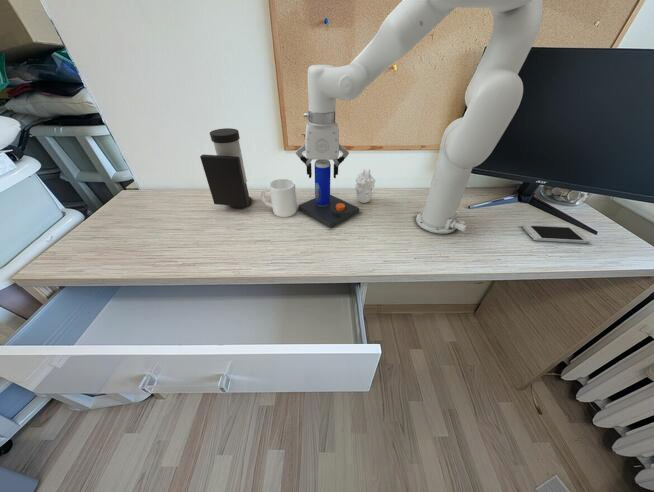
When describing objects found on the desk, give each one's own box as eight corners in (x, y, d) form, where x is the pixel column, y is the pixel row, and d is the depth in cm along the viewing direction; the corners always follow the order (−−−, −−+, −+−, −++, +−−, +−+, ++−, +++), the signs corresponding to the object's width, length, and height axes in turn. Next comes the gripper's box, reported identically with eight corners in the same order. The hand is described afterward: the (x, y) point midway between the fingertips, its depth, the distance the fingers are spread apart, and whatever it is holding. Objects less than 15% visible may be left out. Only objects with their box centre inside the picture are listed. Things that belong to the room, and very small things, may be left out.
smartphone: (521, 227, 83) (523, 224, 82) (572, 229, 82) (573, 227, 81) (534, 240, 77) (535, 238, 77) (588, 243, 76) (590, 240, 76)
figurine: (363, 208, 92) (366, 176, 84) (349, 201, 96) (351, 170, 88) (375, 202, 96) (379, 170, 88) (361, 195, 99) (364, 165, 92)
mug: (259, 216, 87) (254, 188, 81) (267, 204, 94) (262, 177, 87) (294, 218, 86) (291, 190, 80) (299, 206, 93) (297, 179, 86)
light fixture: (260, 199, 97) (248, 129, 81) (248, 214, 88) (232, 139, 73) (230, 196, 98) (212, 127, 83) (216, 211, 90) (193, 137, 74)
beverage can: (313, 201, 92) (312, 159, 82) (327, 199, 93) (327, 158, 84) (317, 208, 88) (316, 165, 79) (331, 206, 89) (332, 163, 80)
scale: (359, 213, 89) (360, 204, 87) (331, 229, 81) (332, 219, 79) (326, 197, 98) (326, 188, 96) (298, 210, 90) (297, 201, 88)
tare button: (346, 209, 85) (346, 205, 84) (340, 212, 83) (340, 208, 82) (340, 206, 87) (340, 202, 86) (333, 209, 85) (334, 205, 84)
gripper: (290, 120, 70) (294, 181, 81) (353, 121, 70) (349, 181, 81) (293, 114, 76) (297, 171, 87) (351, 115, 76) (348, 172, 87)
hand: (322, 176), depth 84 cm, fingers open, 7 cm apart
